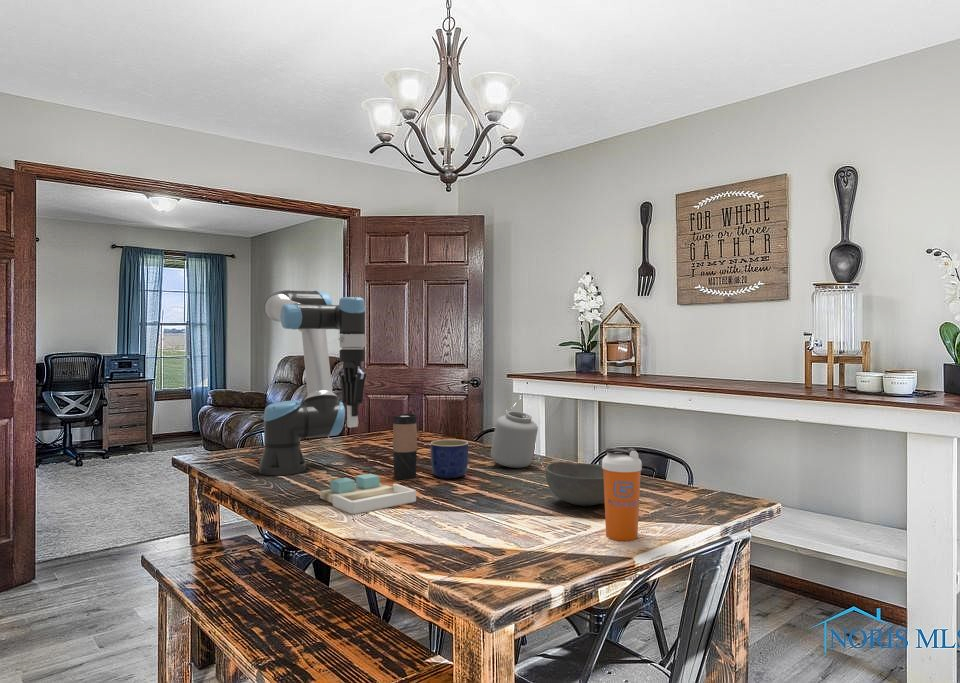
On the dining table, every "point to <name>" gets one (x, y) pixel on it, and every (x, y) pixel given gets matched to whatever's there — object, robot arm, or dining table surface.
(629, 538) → the shaker bottle
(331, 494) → the board
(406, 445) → the travel mug
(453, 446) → the planter
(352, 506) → the tray
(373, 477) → the tile
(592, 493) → the bowl
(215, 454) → the dining table surface
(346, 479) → the tile
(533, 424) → the jar
